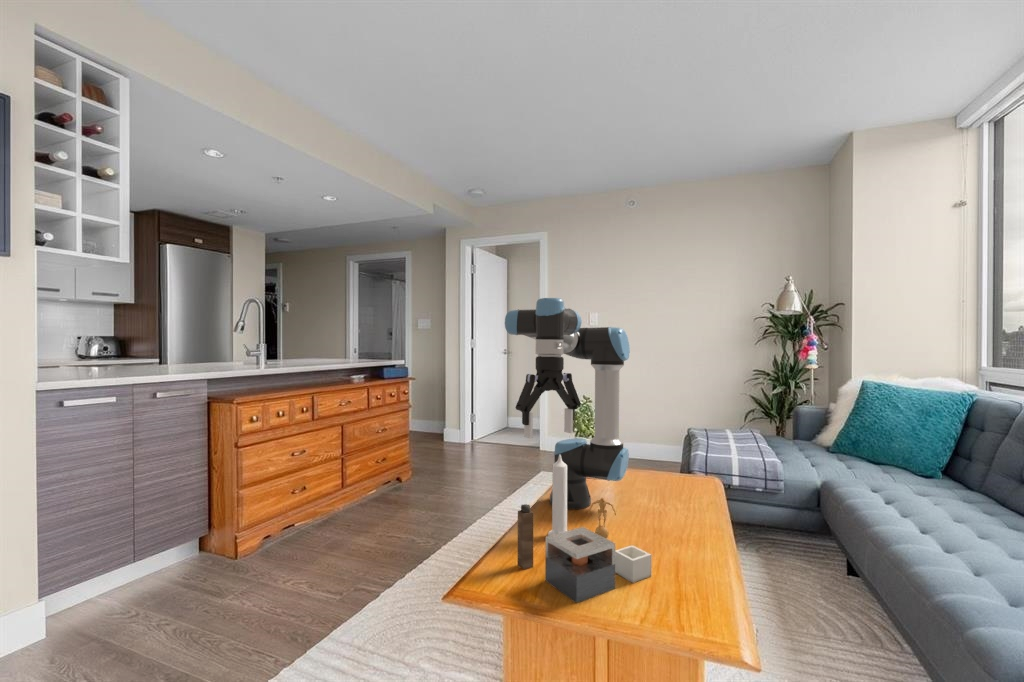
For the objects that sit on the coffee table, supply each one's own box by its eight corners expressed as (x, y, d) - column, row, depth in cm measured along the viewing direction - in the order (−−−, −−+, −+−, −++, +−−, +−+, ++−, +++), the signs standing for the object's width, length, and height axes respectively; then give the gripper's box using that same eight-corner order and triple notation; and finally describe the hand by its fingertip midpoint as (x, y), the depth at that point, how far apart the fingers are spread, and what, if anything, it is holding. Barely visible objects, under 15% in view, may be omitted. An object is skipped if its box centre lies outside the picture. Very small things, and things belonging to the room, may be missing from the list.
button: (568, 571, 118) (568, 546, 118) (580, 567, 120) (580, 543, 120) (578, 578, 114) (578, 552, 114) (591, 573, 116) (591, 549, 116)
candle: (543, 536, 146) (543, 454, 146) (557, 529, 152) (557, 450, 152) (561, 542, 142) (562, 458, 142) (575, 535, 147) (576, 454, 147)
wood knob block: (517, 565, 127) (517, 505, 127) (526, 562, 129) (527, 503, 129) (523, 570, 125) (524, 508, 125) (533, 567, 126) (533, 506, 126)
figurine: (587, 540, 143) (587, 500, 143) (589, 532, 149) (589, 494, 149) (615, 543, 141) (615, 502, 141) (616, 535, 147) (616, 496, 147)
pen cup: (613, 572, 124) (613, 550, 124) (632, 565, 127) (632, 545, 127) (632, 583, 118) (632, 560, 118) (651, 576, 122) (651, 554, 122)
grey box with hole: (545, 580, 119) (545, 536, 119) (582, 568, 125) (582, 526, 125) (576, 603, 109) (576, 554, 109) (615, 588, 115) (615, 543, 115)
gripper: (519, 356, 118) (518, 442, 118) (593, 355, 132) (593, 432, 132) (502, 355, 125) (502, 437, 125) (575, 355, 138) (575, 428, 138)
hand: (549, 435), depth 128 cm, fingers open, 13 cm apart
